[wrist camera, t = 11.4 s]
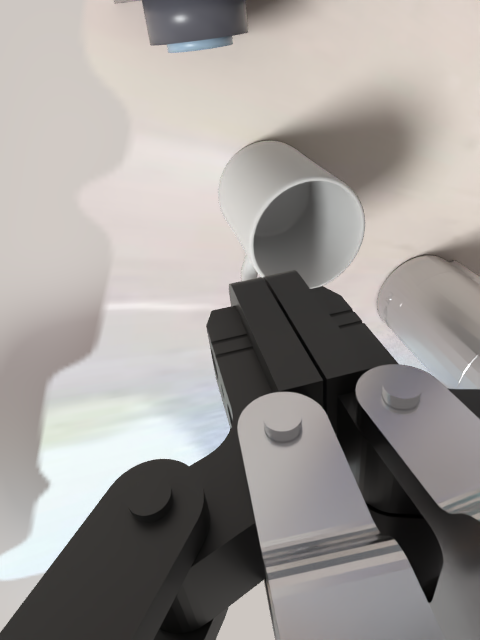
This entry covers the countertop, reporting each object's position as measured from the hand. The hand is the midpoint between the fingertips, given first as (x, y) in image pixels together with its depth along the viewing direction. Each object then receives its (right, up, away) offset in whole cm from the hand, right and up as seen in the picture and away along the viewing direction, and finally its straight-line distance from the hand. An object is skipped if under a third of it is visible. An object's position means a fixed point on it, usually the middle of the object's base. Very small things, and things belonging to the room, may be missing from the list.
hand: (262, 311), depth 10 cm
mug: (+1, +10, +30) cm, 31 cm away
